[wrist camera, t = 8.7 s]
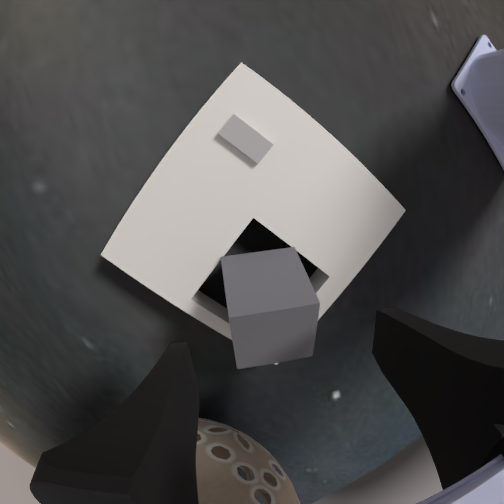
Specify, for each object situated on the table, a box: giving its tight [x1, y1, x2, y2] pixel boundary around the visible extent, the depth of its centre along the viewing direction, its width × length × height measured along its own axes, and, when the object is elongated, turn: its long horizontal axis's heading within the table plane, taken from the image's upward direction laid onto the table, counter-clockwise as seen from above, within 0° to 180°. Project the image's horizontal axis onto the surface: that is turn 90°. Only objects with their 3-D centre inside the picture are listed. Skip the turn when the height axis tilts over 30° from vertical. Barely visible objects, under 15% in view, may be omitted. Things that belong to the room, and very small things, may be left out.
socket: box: [101, 63, 406, 365], centre depth 16 cm, size 12×12×2 cm
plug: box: [221, 247, 320, 369], centre depth 16 cm, size 4×4×5 cm
